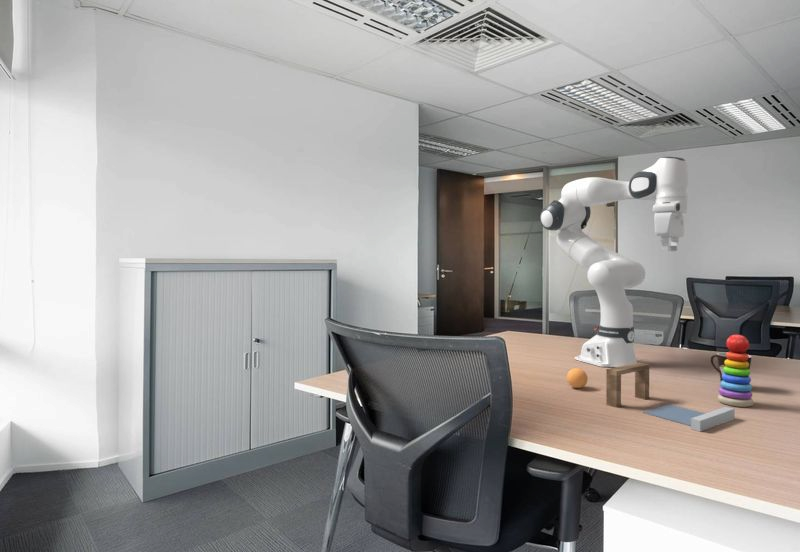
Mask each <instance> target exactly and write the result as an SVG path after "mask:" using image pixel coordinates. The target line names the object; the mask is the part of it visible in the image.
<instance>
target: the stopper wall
mask: <svg viewBox="0 0 800 552" xmlns="http://www.w3.org/2000/svg"><path fill="white" fill-rule="evenodd" d="M735 412H736V411H735V408H733V407H728V406H724V407H721V408H717V409H715V410H713V411H712V410H711V411H709V412H707V413H706V412H705V413H706V414H703V415H700V416H697V417H694V418H691V426H690V430H693V431H695V432H696V431H697V432H702V431H705V430H709V429H710V428H713V427H717V426H718V425H722V424H725V423H727V422H729V421H732V419H733V420H735V418H736V417H735ZM724 422H725V423H724ZM721 423H722V424H721ZM716 425H717V426H716Z"/></svg>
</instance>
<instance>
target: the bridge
mask: <svg viewBox="0 0 800 552" xmlns="http://www.w3.org/2000/svg"><path fill="white" fill-rule="evenodd" d="M605 373H606V383H605V384H606V390H605V391H606V394H605V395H606V397H605V398H606V405H608V406H610V407H614V408H618V407H619V408H620V407H622V375H626V374H630V373H634V397H635V398H638V399H641V400H648V399H650V364H649V363H645V362H637V363H634V364H629V365H624V366H620V367H609V368H606V372H605Z"/></svg>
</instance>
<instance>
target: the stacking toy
mask: <svg viewBox="0 0 800 552" xmlns="http://www.w3.org/2000/svg"><path fill="white" fill-rule="evenodd" d="M725 345H726V347H727V349H728V350H729V351H728V352H727V353H726V357H727V358H728V359H726V360H725V361H724V364H725V365H726V366H725V367H724V369H723V371H724V372H725V373H724V374H723V375H722V379H723V380H722V381H720V387H719V388H718V393H719V394H718V395H717V400H718V401H719V402H720V403H722V404H724V405H727V406H732V407H737V408H745V407H746V408H749V407H752V406H753V405H754V399H753V398H752V397H753V392H752V389H753V386H752V384H751V381H752V379H751V377H750V374H751V370H749V369H748V367H749V363H748V362H747V360H748V358H749V356H748V355H749V354H748V353H746V352H747V351H748V350H749V348H750V341H749V340H748V339H747V337H746V336H744V335H742V334H732V335H730V336H729V337H728V338H727V339H726V344H725Z"/></svg>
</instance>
